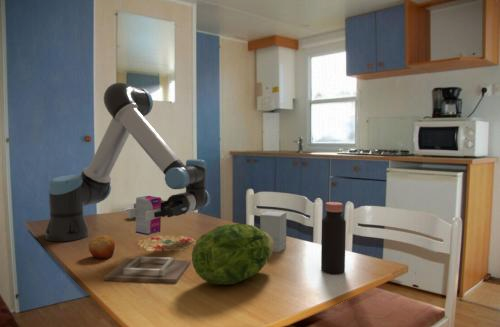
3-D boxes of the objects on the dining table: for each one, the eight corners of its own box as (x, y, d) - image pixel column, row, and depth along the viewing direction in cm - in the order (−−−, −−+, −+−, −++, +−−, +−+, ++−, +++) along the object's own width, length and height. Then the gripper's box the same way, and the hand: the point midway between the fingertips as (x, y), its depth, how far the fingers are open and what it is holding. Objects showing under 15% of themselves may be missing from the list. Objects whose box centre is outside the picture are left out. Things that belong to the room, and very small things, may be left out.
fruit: (124, 248, 132) (115, 231, 127) (111, 267, 126) (101, 249, 121) (104, 246, 134) (95, 229, 130) (90, 264, 128) (80, 247, 124)
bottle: (340, 276, 111) (341, 206, 110) (317, 272, 115) (318, 203, 113) (347, 269, 117) (349, 202, 115) (326, 265, 120) (327, 200, 119)
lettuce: (288, 273, 113) (289, 220, 112) (220, 300, 94) (220, 237, 93) (251, 261, 124) (251, 213, 123) (182, 284, 104) (182, 227, 103)
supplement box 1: (148, 235, 123) (148, 199, 122) (135, 233, 126) (134, 197, 125) (161, 232, 128) (161, 197, 127) (148, 229, 131) (148, 195, 130)
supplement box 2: (286, 247, 140) (287, 212, 139) (279, 253, 133) (279, 216, 132) (267, 244, 143) (267, 210, 142) (259, 250, 136) (259, 214, 135)
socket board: (104, 280, 107) (104, 271, 107) (127, 261, 123) (127, 253, 123) (176, 283, 105) (176, 273, 105) (190, 263, 121) (190, 255, 121)
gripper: (203, 217, 139) (162, 231, 118) (159, 211, 147) (114, 223, 126) (203, 195, 138) (162, 206, 117) (159, 191, 146) (113, 200, 125)
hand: (137, 215), depth 122 cm, fingers closed on supplement box 1, 6 cm apart
